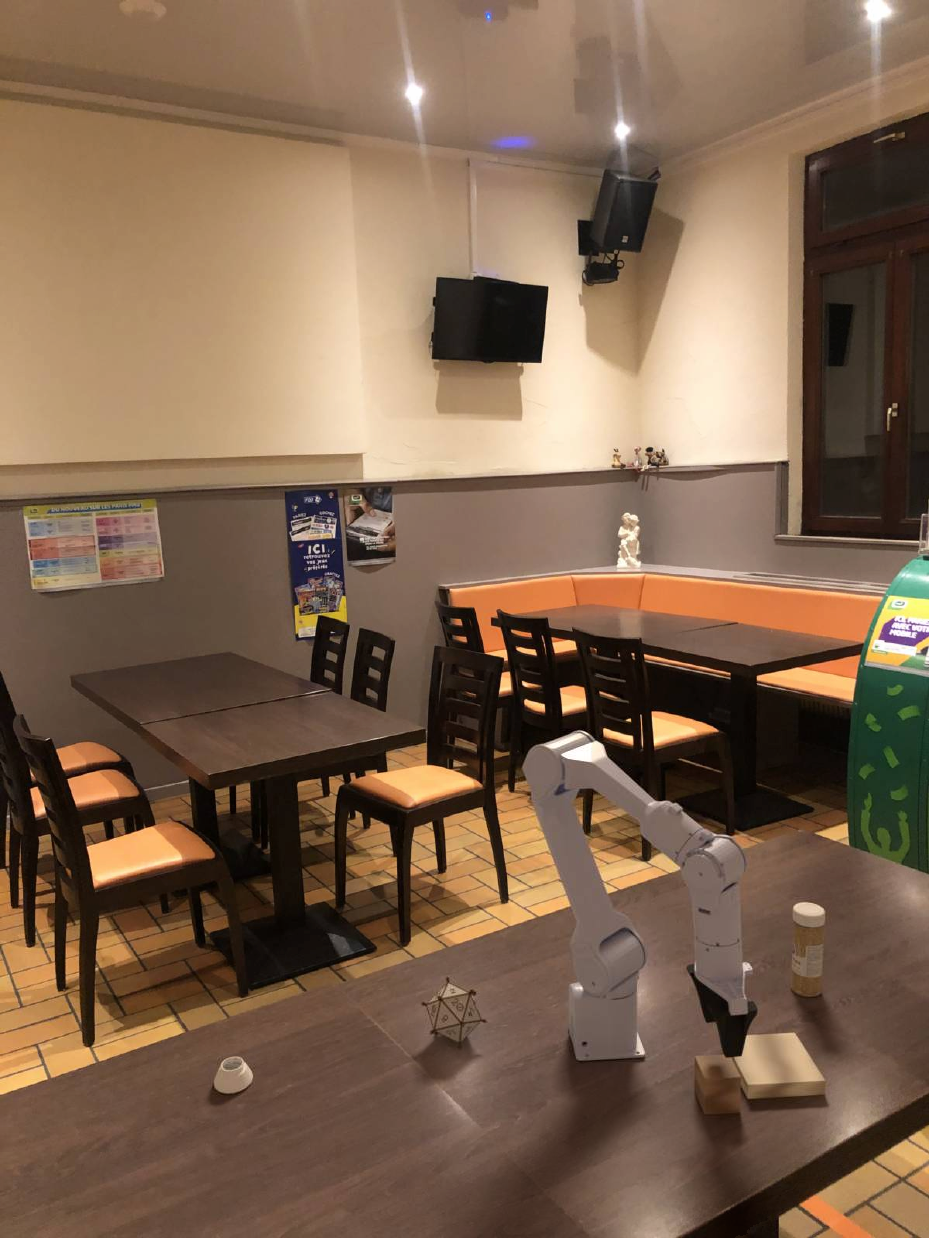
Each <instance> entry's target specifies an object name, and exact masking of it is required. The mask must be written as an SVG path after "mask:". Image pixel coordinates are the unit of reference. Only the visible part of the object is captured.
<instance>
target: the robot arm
mask: <svg viewBox="0 0 929 1238" xmlns="http://www.w3.org/2000/svg"><path fill="white" fill-rule="evenodd" d="M521 769H522V772H523V774H524V777H525V779H526V782H527V785H528V787H529V790H530V796H531V797H530V798H531V804H532V807H533V809H534V812H535V814H536V818H537V820H538V823H539V825H540V828H541V830H542V834H543V837H544V838H545V842H546V845H547V848H548V850H549V852H550V854H551V857H552V860H553V863H554V865H555V869H556V870H557V871H556V872H557V873H558V876H559V878H560V882H561V883H562V886H563V889H564V892H565V894H566V897H567V900H568V903H569V905H570V908H571V910H572V914H573V916H574V918H575V921H576V926H575V929H574V931H573V934H572V937H571V939H570V941H569V948H570V950H571V953H572V959H573V971H574V974H575V978H576V980H577V982H574V983H569V985H568V1033H569V1037H570V1040H571V1043H572V1046H573V1051H574V1055H575V1059H576V1060H577V1061H581V1062H582V1061H583V1062H584V1061H598V1060H599V1061H601V1060H617V1059H620V1060H621V1059H631V1058H632V1059H637V1058H644V1057H645V1056H646V1051H645V1049H644V1046H643V1044H642V1041H641V1038H640V1035H639V1033H638V980H640V971H641V970H642V969H643V968H645V966H646V965H647V962H648V958H649V957H648V955H649V953H648V949H647V945H646V943H645V941H644V940H643V938H642V936H640V935H639V933H638V932H637V931H636V929H635V927H634V926H633V924H632V921H631V919H630V917H628V916H627V915H625V914H623V913H621V912H619V911H617V910H615V909H614V906H613V903H612V902H611V898H610V896H609V894H608V890H607V888H606V886H605V884H604V880H603V879H602V875H601V873H600V870H599V867H598V865H597V863H596V859H595V857H594V855H593V853H592V849H591V846H590V845H589V842H588V839H587V837H586V834H585V831H584V828H583V826H582V823H581V821H580V817H579V815H578V813H577V811H576V808H575V805H574V802H575V800H576V798H577V795H578V793H579V791H580V789H581V790H582V789H592V790H594V791H596V792H597V793H598V794H599V795H602V796H603V797H604V798H606V799H607V800H608V801H610V802H611V803H613V804H614V805H615V806H616V807H617V808H619V809H620V810H622V811H623V812H625V813H626V814H628V815H629V816H631V817H632V818H634V819H635V820H636V821H638V822H639V827H640V828H639V829H640V834H641V836H642V837H643V838H644V839H645V840H647V841H648V842H649V843H650V844H652V846H654V848H656V849H657V850H658V851H660V852H661V853H662V854H664V856H666V857H667V858H668V859H669V860H671V861H672V862H673V863H674V864H675V865H677V866H678V868H680V874H681V875H680V876H681V877H682V880H683V882H684V884H685V885H686V887H687V888H688V890H689V891H688V892H689V895H690V896H689V897H690V898H689V899H690V902H691V903H692V920H693V921H692V922H693V936H694V938H693V939H694V956H695V959H694V960H695V961H694V963H692V964H688V965H687V966H686V969H685V970H686V971H687V973H688V974H689V976H690V978H691V979H692V982H693V985H694V987H695V991H696V992H697V997H698V1000H699V1003H700V1008H701V1011H702V1012H701V1013H702V1014H703V1019H704V1021H705V1022H706V1023H705V1024H710V1023H715V1024H716V1028H717V1032H718V1036H719V1043H720V1047H721V1051H722V1053H723V1054H724V1056H725V1057H726V1058H730V1057H740V1056H742V1053H743V1049H744V1045H745V1040H746V1036H747V1034H748V1033H749V1029H750V1026H751V1024H752V1023H753V1020H754V1019H755V1018H756V1016H757V1015H758V1010H759V1009H758V1006H757V1004H756V1003H755V1002H754V1000H750V1001H748V998H747V996H746V993H745V989H746V988H745V987H746V986H745V985H746V977H747V976H751V975H753V974H754V973H753V971H754V970H753V967H752V966H751V964H750V963H749V962H747V961H745V962H744V961H743V960H744V959H743V943H742V942H743V939H742V937H743V936H742V919H741V917H742V916H741V915H742V914H741V898H740V897H741V896H740V893H741V892H740V882H739V879H741V878H742V877H743V876H744V875H745V873H746V871H747V867H748V860H747V857H746V856H747V855H746V854H745V852H744V849H743V848H742V846H741V845H740V844H739V843H738V842H736V840H735V839H734V838H733V837H732V836H730V835H727V834H716V833H714V832H713V831H710V830H709V829H707V828H704V827H703V826H702V825H700V824H699V823H698V822H697V821H695V820H694V819H693V818H692V817H690V816H689V815H688V814H687V813H686V812H684V811H683V809H684V808H683V807H682V806H681V805H680V804H679V803H677V802H674V803H673V802H671V801H670V800H662V801H659V800H658V801H656V800H655V799H654V798H653V797H652V796H651V795H649V793H647V791H645V790H644V789H643V788H642V787H641V786H639V785H638V783H636V781H634V780H633V779H632V778H631V777H630V776H629V775H628V774H626V773H625V772H624V770H622V769H621V767H619V766H618V765H617V764H616V763H615V762H614V761H613V760H611V759H610V758H609V757H608V754H607V751H606V749H605V745H604V744H603V743H601V742H599V741H597V740H596V739H595V738H594V737H593V736H592V735H591V734H590V733H588V732H586V731H584V730H575V731H572V732H570V733H569V734H567V735H563V736H561V737H559V738H555V739H554V740H550V741H548V742H545V743H540V744H536V745H534V746H533V747H531V748H530V749H529V750H528V752H527V754H526V757H525V759H524V762H523V763H522V767H521Z"/></svg>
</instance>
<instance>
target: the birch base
mask: <svg viewBox="0 0 929 1238" xmlns="http://www.w3.org/2000/svg"><path fill="white" fill-rule="evenodd" d="M731 1058H732V1060H733V1062H734V1064H735V1066H736V1068H737V1070H738V1072H739V1074H740V1076H741V1088H742V1090H743V1093H744V1094H745V1096H746V1098H747V1100H752V1099H771V1098H786V1097H787V1098H789V1097H804V1096H806V1097H808V1096H823V1095H825V1094H826V1079H825V1078H824V1076H823V1075H822V1073H821V1071H820V1070H819V1068H818V1067H817V1065H816V1064H815V1062H814V1060H813V1059H812V1057H811V1056H810V1054H809V1053H808V1051H807V1050H806V1048H805V1047H804V1045H803V1043H802V1041H801V1040H800V1039H799V1037H798V1036H797V1034H796V1032H786V1033H785V1032H782V1033H763V1034H748V1035H747V1036H746V1040H745V1045H744V1049H743V1053H742V1056H740V1057H731Z"/></svg>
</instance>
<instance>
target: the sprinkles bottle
mask: <svg viewBox="0 0 929 1238" xmlns="http://www.w3.org/2000/svg"><path fill="white" fill-rule="evenodd" d="M792 919H793V921H792V922H793V936H792V937H793V939H792V951H791V952H792V954H791V955H792V957H791V982H790V989H791V990H792V992H793V993H795V994H797V995H798V996H801V997H805V998H806V997H808V998H811V997H814V998H815V997H817V996H820V995H821V993H822V973H823V959H824V958H823V957H824V955H823V954H824V925H825V922H826V910H825V909H824V908H823V907H822V906H820V905H819V904H816V903H811V902H804V901H802V902H798V903H796V904H795V905H793V907H792Z"/></svg>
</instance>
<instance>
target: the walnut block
mask: <svg viewBox="0 0 929 1238" xmlns="http://www.w3.org/2000/svg"><path fill="white" fill-rule="evenodd" d="M693 1081H694V1083H693V1084H694V1085H693V1087H694V1090H693V1091H694V1093H695V1095H696V1098H697V1100H698V1103H699V1104H700V1107H701V1110H702V1112H703V1114H704V1115H715V1114H717V1115H718V1114H719V1115H720V1114H721V1115H722V1114H732V1113H733V1114H736V1113H741V1088H742V1087H741V1076H740V1074H739V1072H738V1070H737V1068H736V1066H735V1064H734V1062H733V1060H732V1058H731V1057H730V1058H726V1057H725V1056H724V1053H723V1054H708V1055H707V1054H706V1055H694V1080H693Z"/></svg>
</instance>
